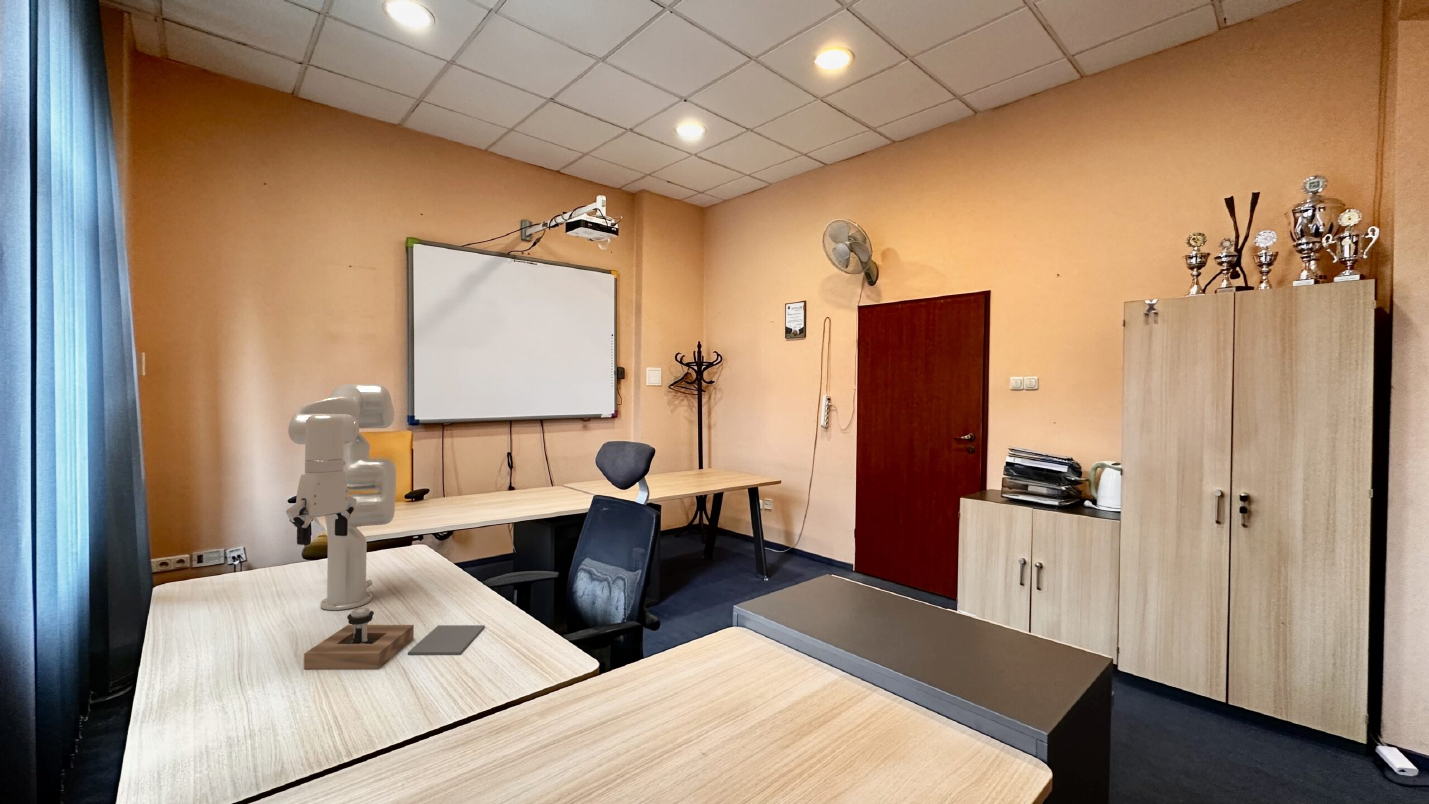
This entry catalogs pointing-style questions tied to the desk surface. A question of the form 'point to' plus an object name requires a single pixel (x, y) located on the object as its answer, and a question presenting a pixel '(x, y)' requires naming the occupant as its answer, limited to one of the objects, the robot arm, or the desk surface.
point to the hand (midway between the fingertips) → (323, 540)
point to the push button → (360, 624)
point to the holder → (359, 648)
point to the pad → (447, 640)
